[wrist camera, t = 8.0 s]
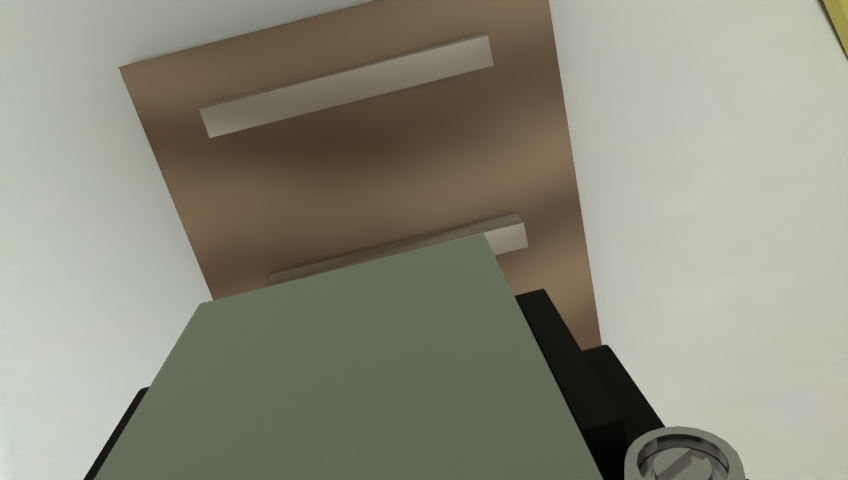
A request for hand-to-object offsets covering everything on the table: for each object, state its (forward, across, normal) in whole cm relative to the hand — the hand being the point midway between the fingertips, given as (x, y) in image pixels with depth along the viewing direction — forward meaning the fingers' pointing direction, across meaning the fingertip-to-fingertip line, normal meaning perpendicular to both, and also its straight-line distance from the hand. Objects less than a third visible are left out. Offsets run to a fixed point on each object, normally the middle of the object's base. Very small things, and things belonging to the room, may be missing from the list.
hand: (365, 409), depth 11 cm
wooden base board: (+19, 0, +4) cm, 19 cm away
